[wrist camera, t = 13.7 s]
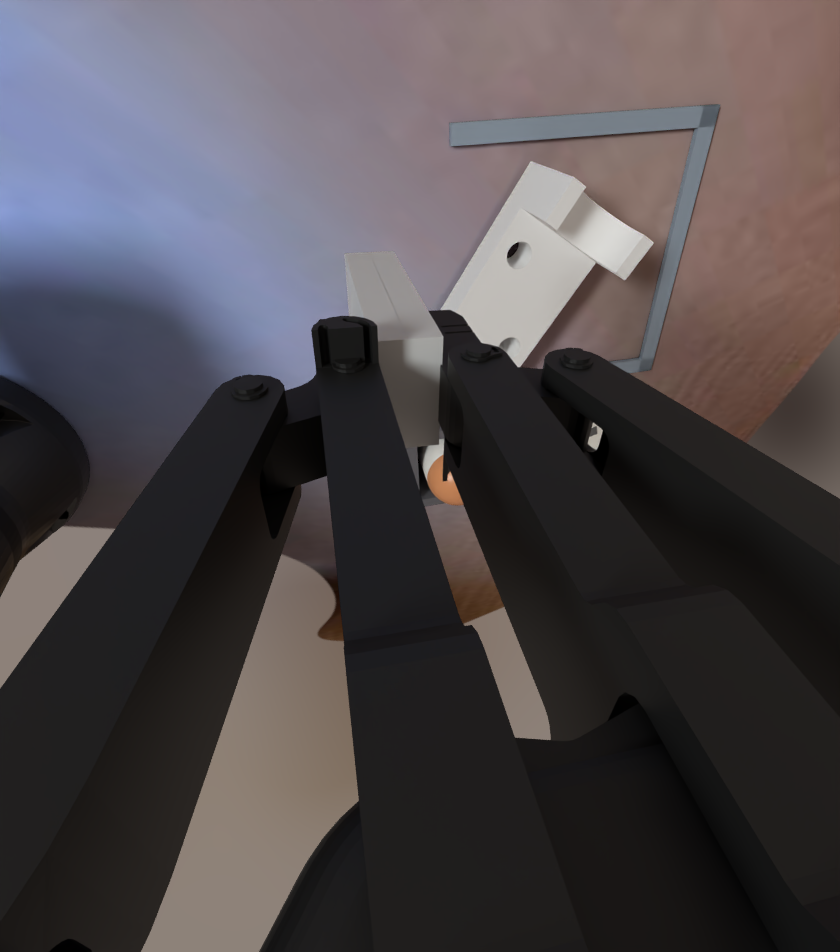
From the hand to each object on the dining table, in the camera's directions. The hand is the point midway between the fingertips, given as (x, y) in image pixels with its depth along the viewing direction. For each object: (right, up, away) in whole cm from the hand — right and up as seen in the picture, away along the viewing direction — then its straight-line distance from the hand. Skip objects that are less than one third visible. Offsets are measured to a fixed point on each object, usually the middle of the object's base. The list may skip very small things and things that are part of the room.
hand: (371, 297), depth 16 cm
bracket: (+8, +10, +23) cm, 26 cm away
